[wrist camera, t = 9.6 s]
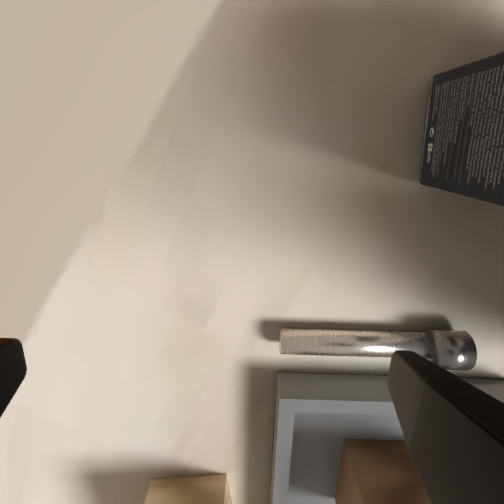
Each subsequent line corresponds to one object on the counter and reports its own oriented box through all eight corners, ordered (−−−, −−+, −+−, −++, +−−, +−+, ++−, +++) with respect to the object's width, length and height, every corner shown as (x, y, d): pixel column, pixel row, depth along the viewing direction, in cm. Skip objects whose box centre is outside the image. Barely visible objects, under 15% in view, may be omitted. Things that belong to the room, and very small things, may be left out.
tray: (509, 379, 23) (538, 406, 21) (458, 538, 28) (477, 574, 26) (277, 372, 23) (279, 398, 21) (267, 532, 28) (268, 568, 26)
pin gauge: (457, 323, 22) (480, 344, 20) (449, 355, 23) (471, 378, 20) (280, 318, 22) (283, 338, 20) (278, 349, 23) (281, 373, 20)
